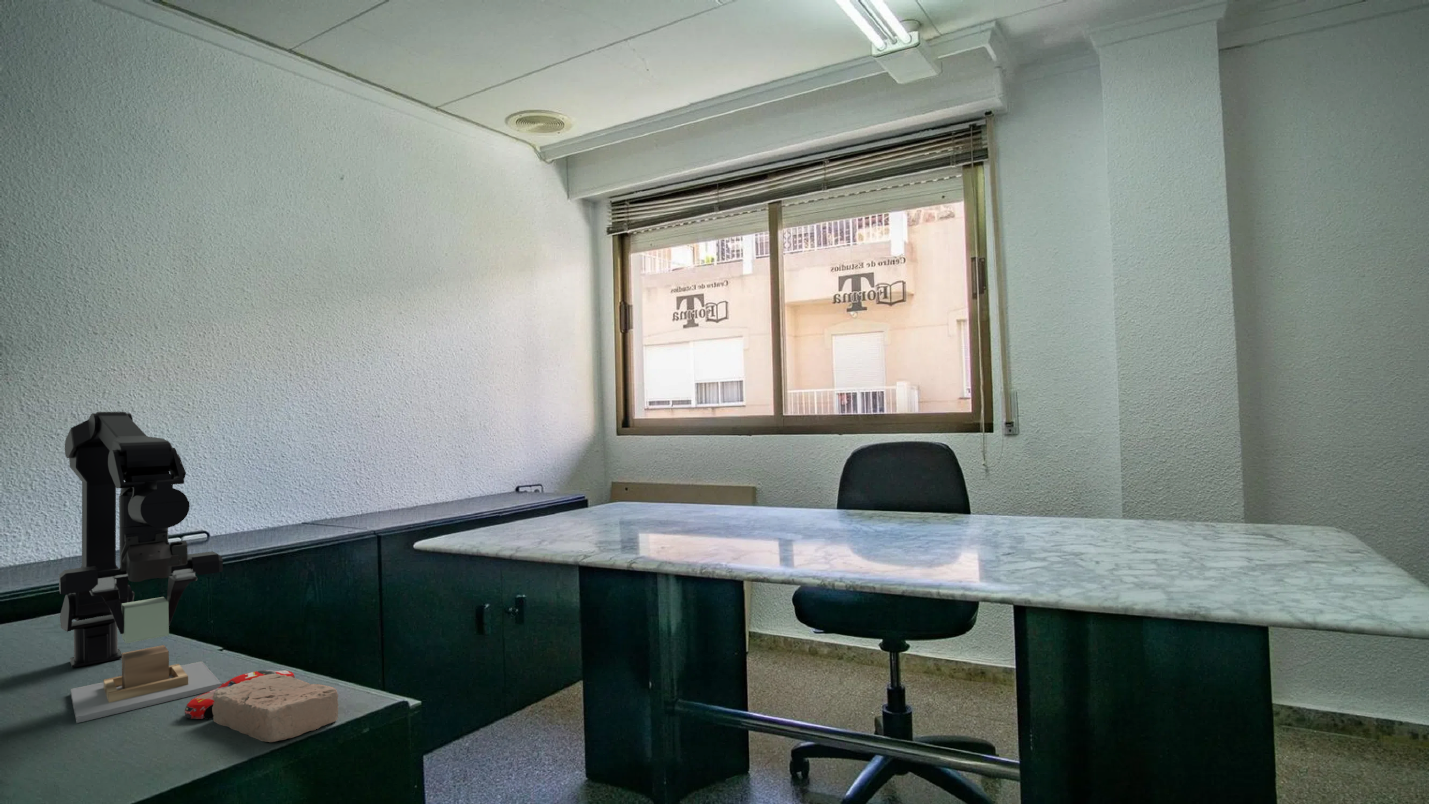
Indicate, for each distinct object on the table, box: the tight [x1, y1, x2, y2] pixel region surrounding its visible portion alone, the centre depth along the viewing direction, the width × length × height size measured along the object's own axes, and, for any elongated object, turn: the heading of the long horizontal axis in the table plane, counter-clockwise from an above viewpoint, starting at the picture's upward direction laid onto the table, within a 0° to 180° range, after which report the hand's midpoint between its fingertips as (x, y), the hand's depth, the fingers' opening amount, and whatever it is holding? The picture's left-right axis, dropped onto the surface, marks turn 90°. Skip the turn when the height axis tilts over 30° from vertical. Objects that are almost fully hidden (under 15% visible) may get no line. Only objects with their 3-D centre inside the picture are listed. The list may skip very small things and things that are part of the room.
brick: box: [212, 674, 339, 743], centre depth 92 cm, size 17×8×5 cm, turn 58°
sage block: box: [121, 596, 170, 645], centre depth 105 cm, size 5×5×5 cm
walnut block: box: [121, 644, 170, 689], centre depth 105 cm, size 5×5×5 cm
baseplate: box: [70, 660, 222, 724], centre depth 105 cm, size 16×16×2 cm
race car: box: [184, 669, 296, 720], centre depth 98 cm, size 13×5×4 cm, turn 140°
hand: (145, 629), depth 105 cm, fingers closed on sage block, 5 cm apart
